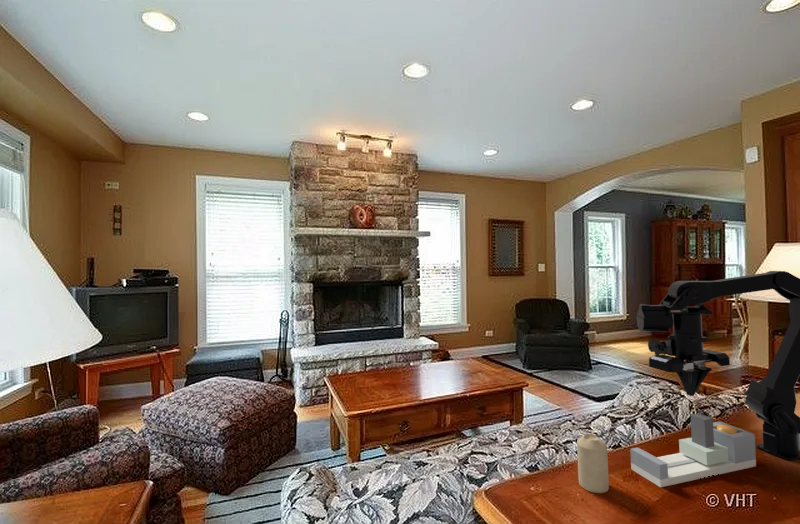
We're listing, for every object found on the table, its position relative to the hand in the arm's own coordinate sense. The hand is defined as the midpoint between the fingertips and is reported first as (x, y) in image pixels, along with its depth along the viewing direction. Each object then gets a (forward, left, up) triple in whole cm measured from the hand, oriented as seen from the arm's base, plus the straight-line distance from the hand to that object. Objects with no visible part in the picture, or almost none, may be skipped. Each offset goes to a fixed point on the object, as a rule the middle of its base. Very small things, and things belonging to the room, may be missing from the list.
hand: (690, 395), depth 92 cm
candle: (+35, +7, -12) cm, 38 cm away
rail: (+10, +8, -12) cm, 18 cm away
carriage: (+7, +8, -10) cm, 15 cm away
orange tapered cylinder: (0, +8, -10) cm, 13 cm away
